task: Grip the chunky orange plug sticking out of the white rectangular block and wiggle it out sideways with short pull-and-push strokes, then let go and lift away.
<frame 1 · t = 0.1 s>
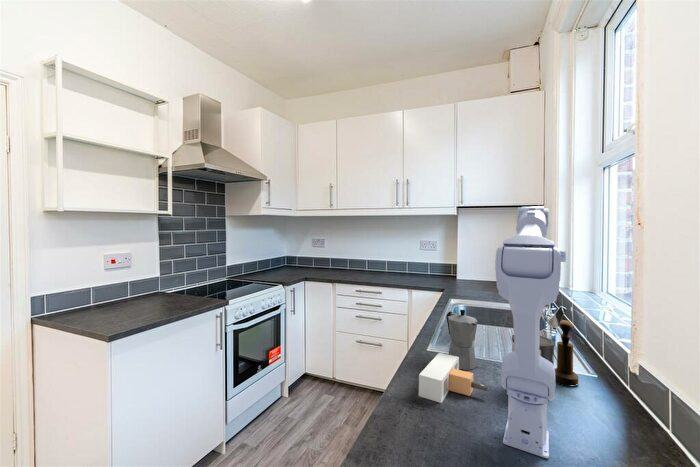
hand: (533, 273, 90), 32 cm above the countertop, tool tilted 50°, fingers open, 7 cm apart
wooden pepper mill: (564, 382, 92), on the countertop
white rectangular block: (439, 385, 89), on the countertop
plug: (462, 382, 85), point 3 cm above the countertop, slide at 0.0 cm
coffee can: (531, 390, 87), on the countertop
coffeepot: (459, 363, 104), on the countertop
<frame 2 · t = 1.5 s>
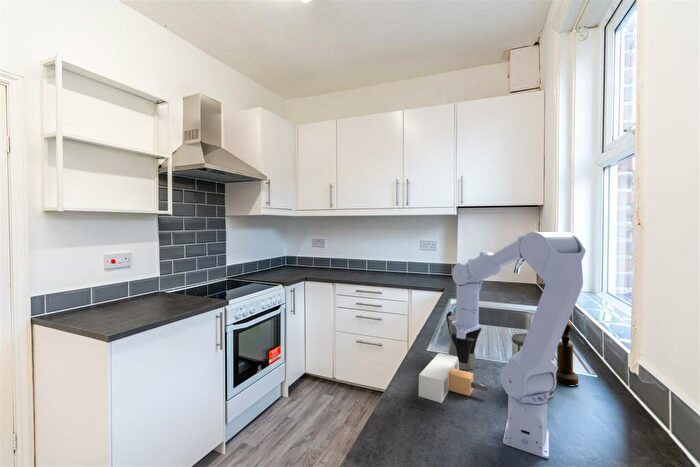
hand: (466, 357, 85), 9 cm above the countertop, tool pointing down, fingers open, 7 cm apart
nothing on the countertop moved.
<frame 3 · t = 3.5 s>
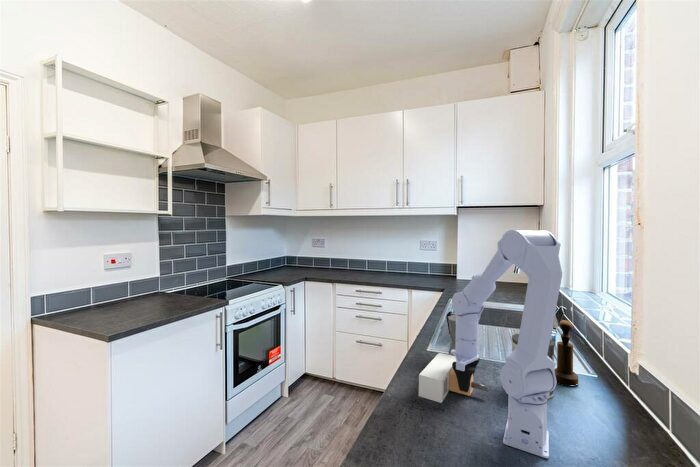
hand: (465, 387, 85), 1 cm above the countertop, tool pointing down, fingers closed on plug, 4 cm apart
plug: (462, 382, 85), point 3 cm above the countertop, slide at 0.0 cm, touching gripper
everything else where it was.
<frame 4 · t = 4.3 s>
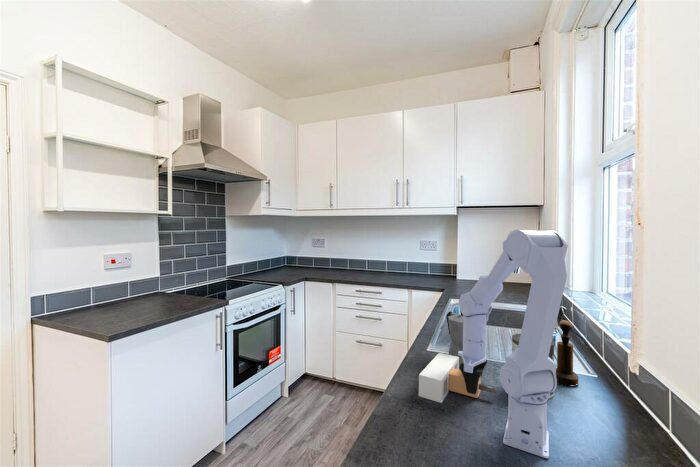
hand: (473, 389, 84), 1 cm above the countertop, tool pointing down, fingers closed on plug, 4 cm apart
plug: (469, 383, 84), point 3 cm above the countertop, slide at 1.9 cm, touching gripper
everything else where it was.
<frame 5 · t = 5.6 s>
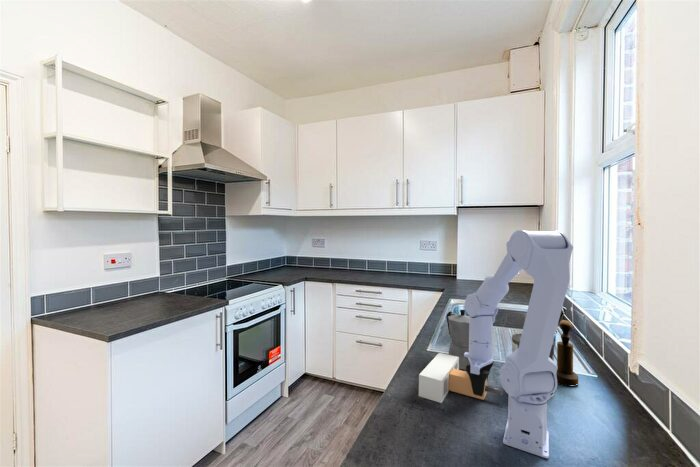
hand: (479, 390, 83), 1 cm above the countertop, tool pointing down, fingers closed on plug, 4 cm apart
plug: (475, 385, 84), point 3 cm above the countertop, slide at 3.4 cm, touching gripper
everything else where it was.
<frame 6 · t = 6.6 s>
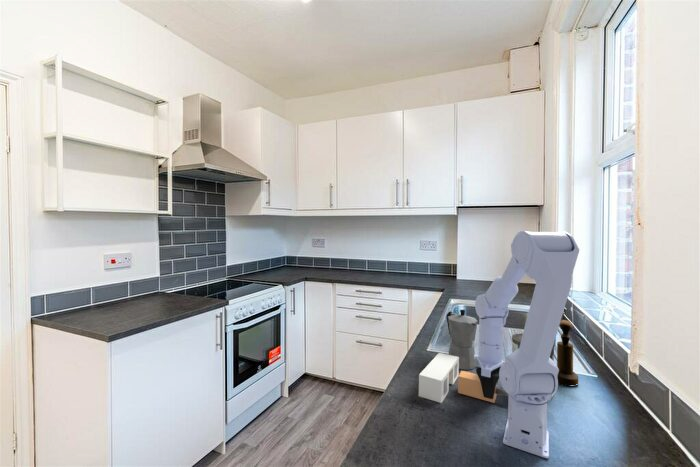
hand: (489, 393, 82), 1 cm above the countertop, tool pointing down, fingers closed on plug, 4 cm apart
plug: (485, 388, 82), point 3 cm above the countertop, slide at 5.9 cm, touching gripper
everything else where it was.
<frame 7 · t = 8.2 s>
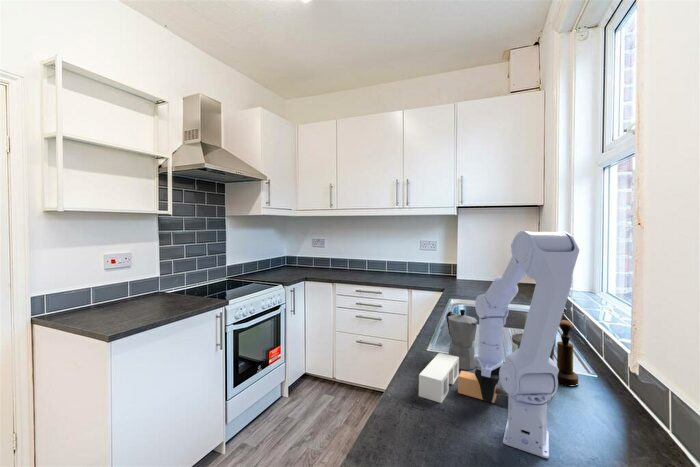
hand: (489, 393, 82), 1 cm above the countertop, tool pointing down, fingers open, 7 cm apart
plug: (485, 388, 82), point 3 cm above the countertop, slide at 5.9 cm
everything else where it was.
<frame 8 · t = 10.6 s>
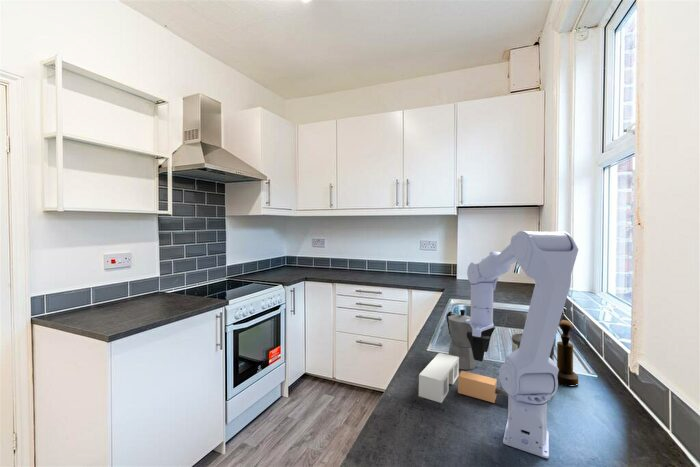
hand: (480, 355, 87), 9 cm above the countertop, tool pointing down, fingers open, 7 cm apart
nothing on the countertop moved.
at the end: plug slide at 5.9 cm; the gripper is holding nothing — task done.
